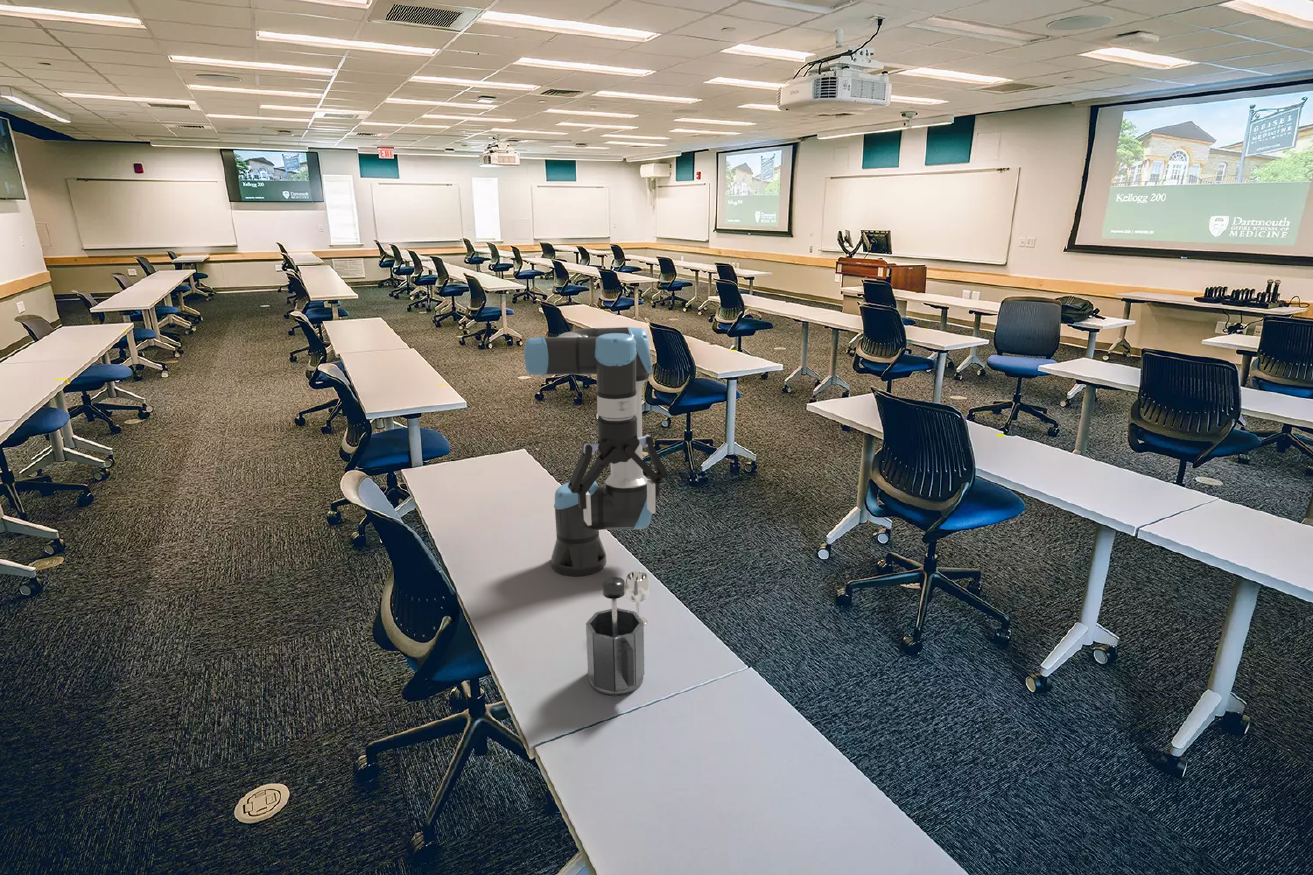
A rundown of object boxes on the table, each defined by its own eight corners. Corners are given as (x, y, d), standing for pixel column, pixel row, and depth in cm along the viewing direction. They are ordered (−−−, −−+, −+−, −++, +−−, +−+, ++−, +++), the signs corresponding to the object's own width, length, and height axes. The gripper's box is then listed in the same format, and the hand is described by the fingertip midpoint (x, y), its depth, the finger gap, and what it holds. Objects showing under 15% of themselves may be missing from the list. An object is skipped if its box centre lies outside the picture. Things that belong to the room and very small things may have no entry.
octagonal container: (582, 669, 145) (579, 615, 141) (631, 656, 149) (630, 603, 145) (604, 711, 132) (602, 652, 129) (657, 695, 137) (657, 639, 133)
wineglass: (638, 612, 166) (637, 567, 163) (655, 621, 162) (654, 575, 159) (620, 621, 162) (619, 576, 159) (637, 631, 159) (636, 584, 155)
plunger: (594, 666, 143) (590, 577, 137) (626, 657, 146) (624, 570, 140) (605, 686, 137) (602, 594, 131) (638, 677, 140) (637, 586, 134)
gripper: (559, 429, 124) (565, 535, 131) (684, 413, 133) (684, 513, 140) (548, 418, 130) (554, 520, 137) (669, 403, 139) (669, 499, 146)
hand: (620, 516), depth 138 cm, fingers open, 13 cm apart
